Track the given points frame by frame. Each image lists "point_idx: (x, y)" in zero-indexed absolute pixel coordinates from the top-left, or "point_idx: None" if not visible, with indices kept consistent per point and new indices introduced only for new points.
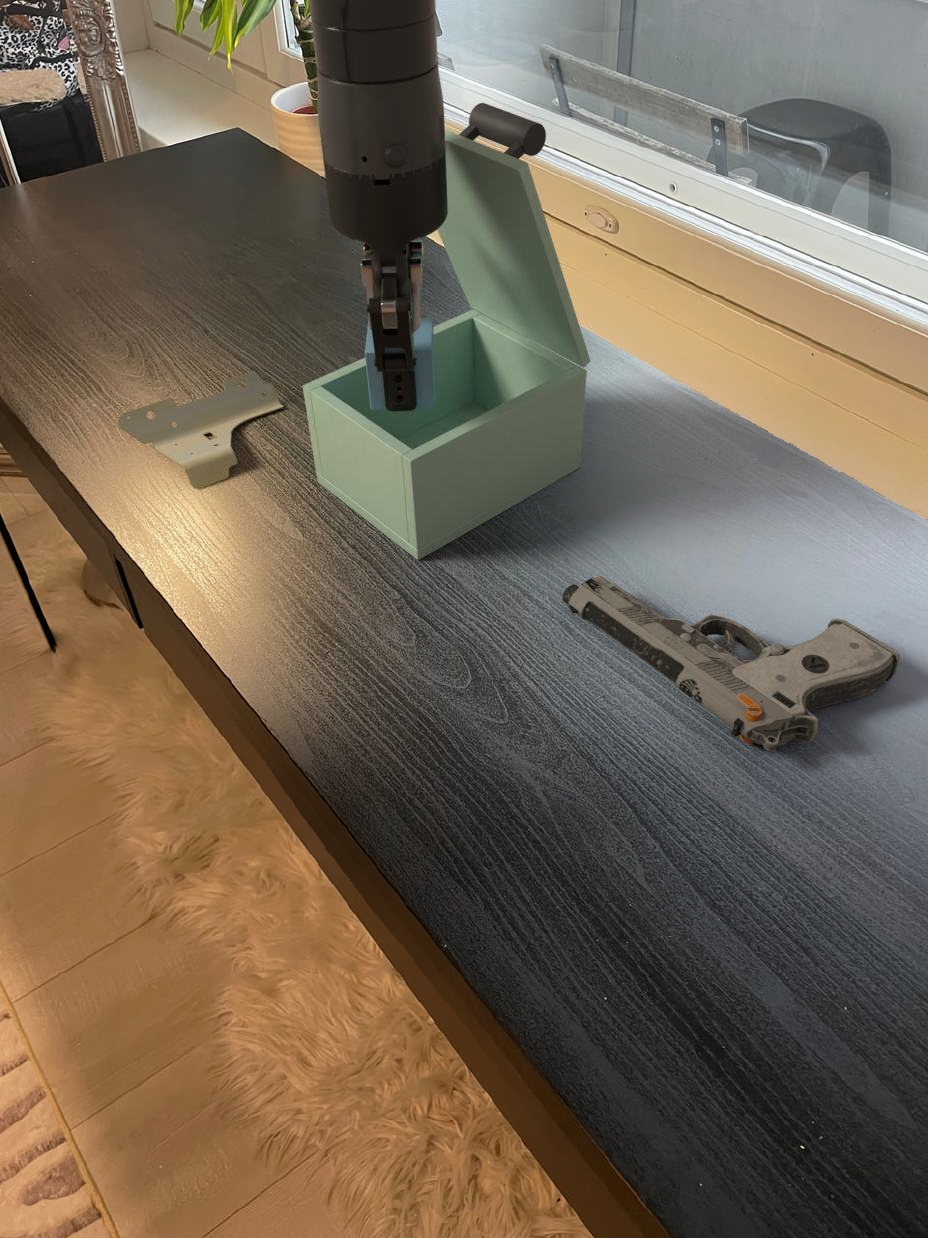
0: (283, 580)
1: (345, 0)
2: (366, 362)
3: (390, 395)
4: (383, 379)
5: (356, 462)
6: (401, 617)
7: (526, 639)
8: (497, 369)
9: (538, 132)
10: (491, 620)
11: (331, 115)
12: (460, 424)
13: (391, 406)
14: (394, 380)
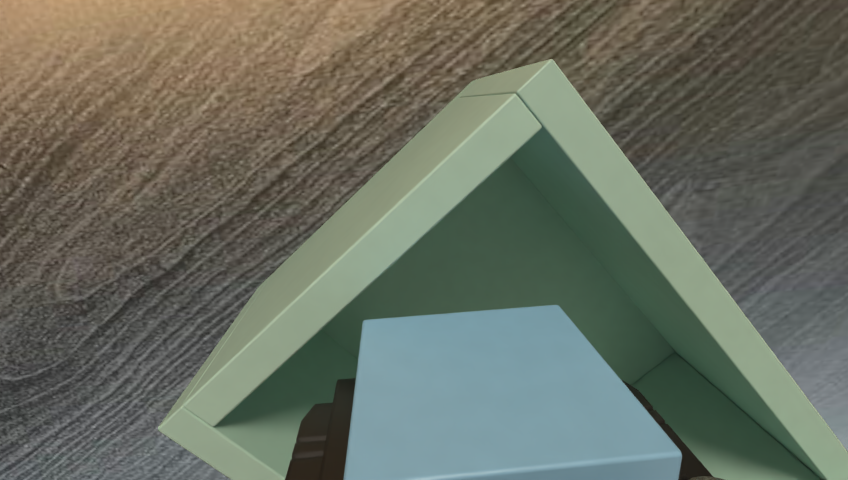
0: (170, 54)
1: None
2: (350, 444)
3: (296, 446)
4: (323, 458)
5: (355, 214)
6: (117, 274)
7: (112, 439)
8: None
9: None
10: (140, 396)
11: None
12: (609, 334)
13: (308, 413)
14: None
